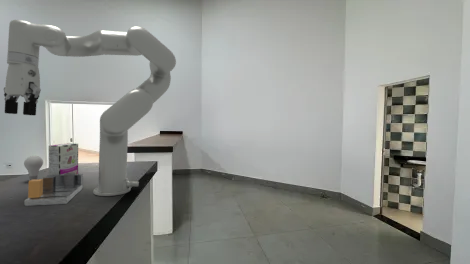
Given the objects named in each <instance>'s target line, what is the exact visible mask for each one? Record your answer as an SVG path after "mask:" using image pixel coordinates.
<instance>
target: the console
mask: <svg viewBox="0 0 470 264" xmlns="http://www.w3.org/2000/svg"><path fill="white" fill-rule="evenodd" d="M42 179H43V195H42V196H41V197H38V198H28V197H27V198H26V199H24V207H28V206H29V207H30V206H31V207H32V206H45V205H46V206H49V205H63V204H65V205H66V204H69V202H70V201H71V200H72V199H73V198H74V197H76V196H77V195H78V194H79V192H81V191H82V190H83V188H84V187H83V186H84V185H83V184H84V174H83V173H78V174H75V173H66V174H54V175H49V174H47V175H46V176H44V177H42Z"/></svg>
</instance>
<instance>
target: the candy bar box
mask: <svg viewBox="0 0 470 264" xmlns="http://www.w3.org/2000/svg"><path fill="white" fill-rule="evenodd" d="M66 173H75V174H79V143H77V142H75V143H74V142H68V143H67V142H66V143H60V144H52V145H51V144H50V145H48V175H54V174H66Z"/></svg>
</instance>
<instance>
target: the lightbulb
mask: <svg viewBox="0 0 470 264" xmlns="http://www.w3.org/2000/svg"><path fill="white" fill-rule="evenodd" d="M43 165H44V160H43V158H42V157H41V156H37V155H30V156H28V157H27V158H25V160H24V162H23V166H24V168H25V169H26V171H27V172H28V176H29V177H28V178H29V181H30V180H32V179H38V177H39V174H40V170H41V168H42V167H43Z"/></svg>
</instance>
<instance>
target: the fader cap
mask: <svg viewBox="0 0 470 264" xmlns="http://www.w3.org/2000/svg"><path fill="white" fill-rule="evenodd" d="M27 187H28V189H27V191H28V193H27V198H38V197H41V196H42V195H43V178H42V179H41V178H40V179H38V178H37V179H32V180H30V179H29V180H28V186H27Z"/></svg>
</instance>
